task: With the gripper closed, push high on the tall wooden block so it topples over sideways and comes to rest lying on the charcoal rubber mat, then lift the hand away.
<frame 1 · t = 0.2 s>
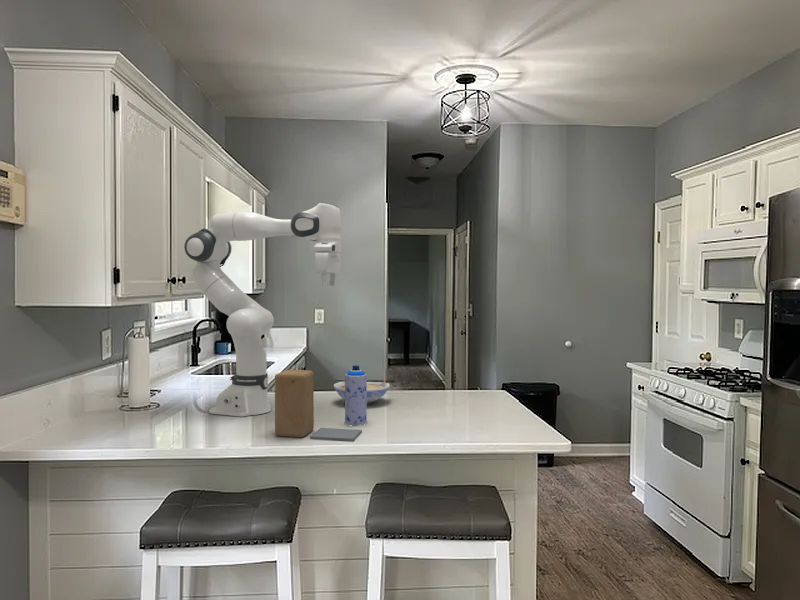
hand: (328, 285, 213), 48 cm above the table, fingers open, 8 cm apart
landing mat: (336, 435, 187), on the table
ramen bowl: (361, 403, 236), on the table
aerosol can: (355, 423, 203), on the table
wooden block: (294, 434, 189), on the table
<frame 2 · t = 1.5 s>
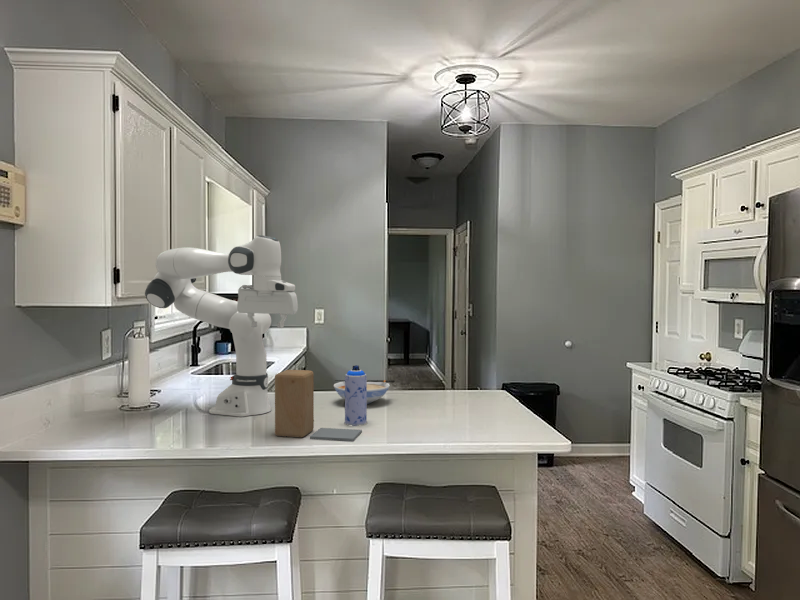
hand: (267, 327, 191), 34 cm above the table, fingers open, 8 cm apart
nothing on the table moved.
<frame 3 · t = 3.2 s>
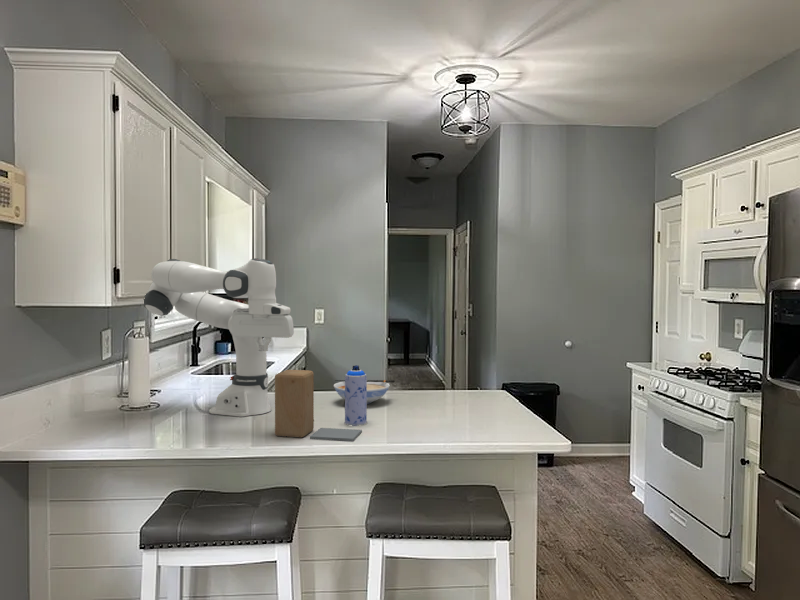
hand: (262, 351, 190), 26 cm above the table, fingers closed
nothing on the table moved.
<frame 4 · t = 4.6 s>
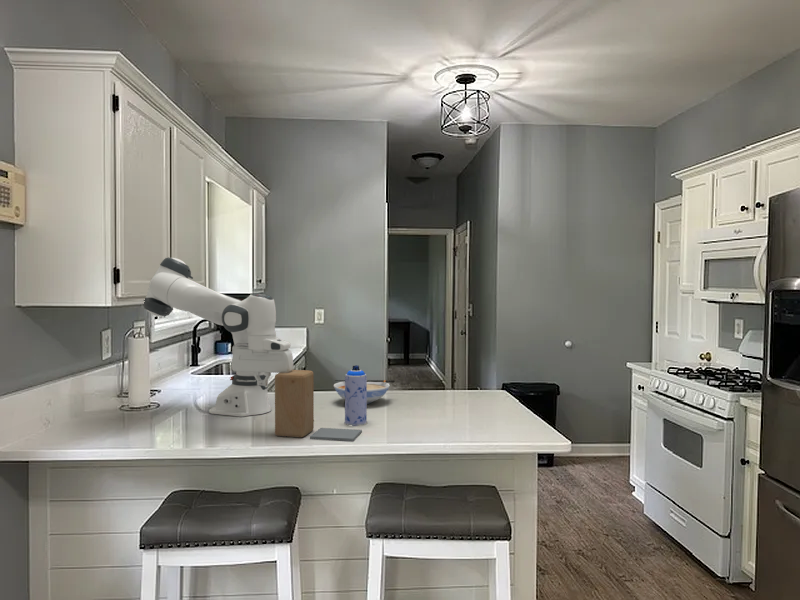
hand: (262, 385, 190), 15 cm above the table, fingers closed
nothing on the table moved.
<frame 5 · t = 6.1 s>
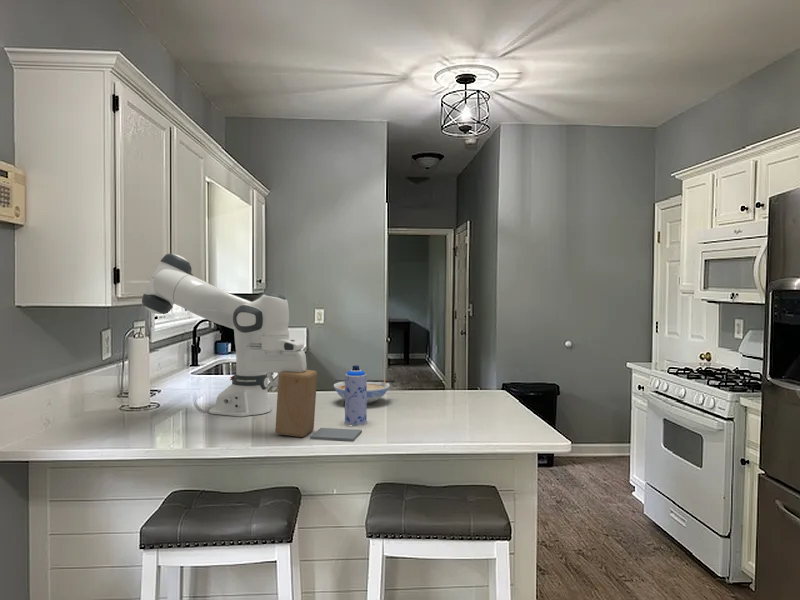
hand: (275, 386, 189), 15 cm above the table, fingers closed
wooden block: (294, 433, 189), on the table, touching gripper
everything else where it was.
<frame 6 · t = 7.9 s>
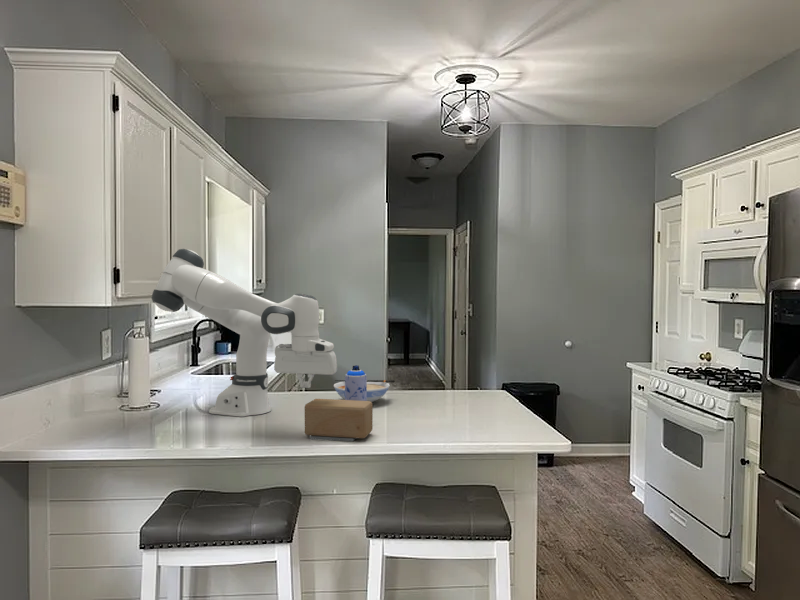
hand: (305, 387, 187), 15 cm above the table, fingers closed
wooden block: (308, 416, 188), point 6 cm above the table, touching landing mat
everything else where it was.
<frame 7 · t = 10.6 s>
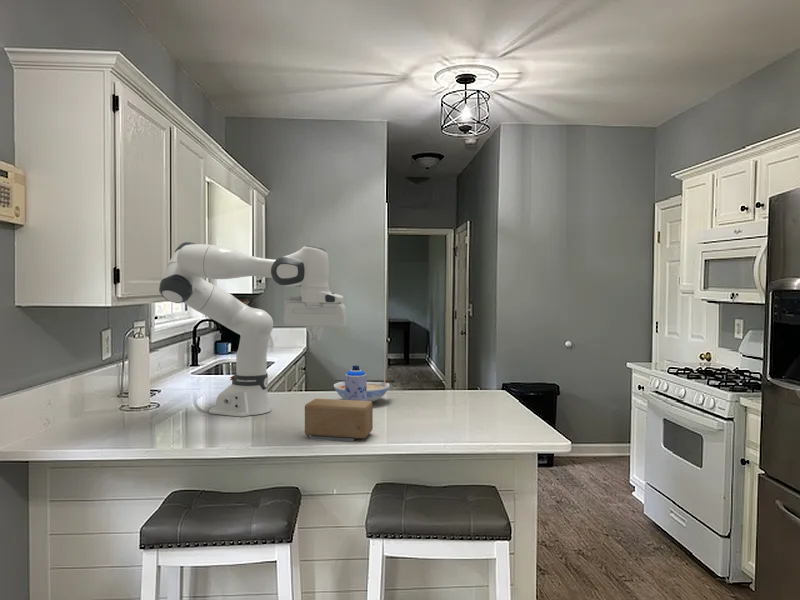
hand: (315, 340, 187), 30 cm above the table, fingers closed
nothing on the table moved.
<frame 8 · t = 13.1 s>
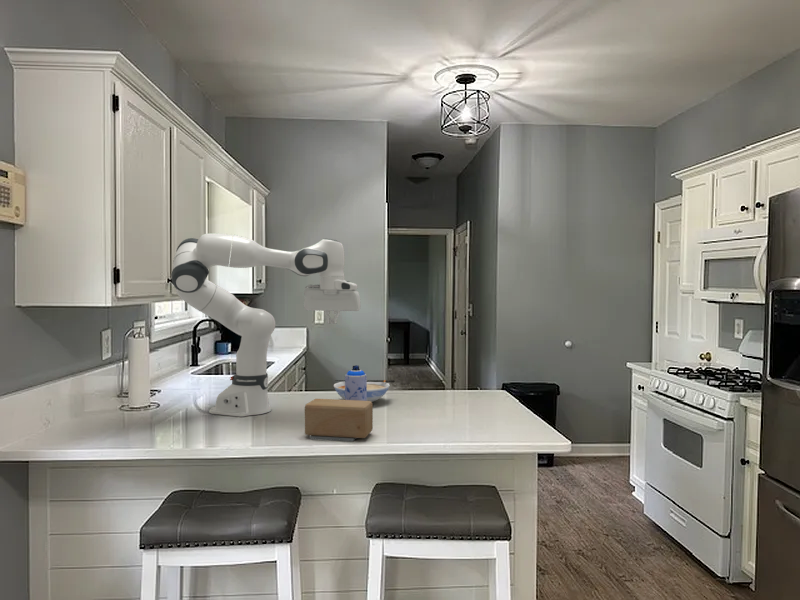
hand: (332, 323, 208), 34 cm above the table, fingers closed
nothing on the table moved.
at the end: wooden block tilted 90°; wooden block touching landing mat; wooden block inside the target area (1.7 cm from its centre), point 5.8 cm above the table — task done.
